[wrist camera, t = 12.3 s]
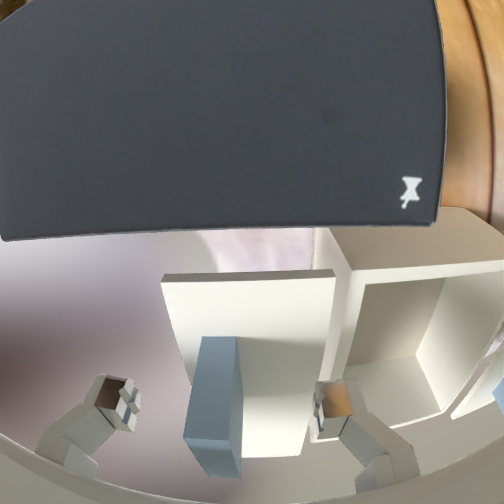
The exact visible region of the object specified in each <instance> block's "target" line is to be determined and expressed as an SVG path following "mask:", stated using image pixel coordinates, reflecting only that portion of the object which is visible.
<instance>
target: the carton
mask: <svg viewBox="0 0 504 504" xmlns="http://www.w3.org/2000/svg"><path fill="white" fill-rule="evenodd" d="M315 269H333V271H334V273H335V276H336V282H335V290H334V297H333V304H332V310H331V317H330V323H329V329H328V335H327V340H326V346H325V351H324V356H323V361H322V366H321V371H320V376H319V381H327V380H335V379H345V378H352V377H356V378H357V379H358V382H359V385H360V388H361V392H362V395H363V399H364V402H365V406H366V409H367V413H369V412H372V413H373V414H374V415H375V416H376V417H378V418H379V419H380V420H381V421H382V422H384V423H385V424H386V425H387V426H388V427H390V428H391V429H393V428H397V427H401V426H405V425H408V424H412V423H415V422H418V421H422V420H425V419H428V418H431V417H434V416H437V415H440V414H443V413H444V412H445V411H446V410H447V408H448V407H449V406H450V405H451V403H452V402H453V401H454V399H455V398H456V397H457V396H458V394H459V393H460V391H461V390H462V389H463V388H464V386H465V385H466V383H467V382H468V381H469V379H470V378H471V376H472V375H473V373H474V372H475V370H476V369H477V367H478V365H479V364H480V363H481V361H482V359H483V358H484V356H485V355H486V353H487V351H488V350H489V348H490V346H491V344H492V343H493V341H494V339H495V337H496V336H497V334H498V332H499V330H500V328H501V326H502V324H503V322H504V235H503V234H502V233H500V232H499V231H498V230H496V229H495V228H493V227H492V226H491V225H489V224H488V223H486V222H485V221H483V220H482V219H480V218H479V217H477V216H476V215H475V214H473V213H471V212H470V211H468V210H467V209H465V208H462V207H444V206H440V209H439V215H438V220H437V221H436V223H435V224H434V225H432V226H431V227H336V228H313V248H312V264H311V270H315ZM316 419H317V418H315V417H314V416H313V409H312V411H311V415H310V419H309V431H310V440H311V443H315V442H323V441H330V440H338V439H339V437H337V438H329V439H319V440H317V438H316V431H315V422H316Z"/></svg>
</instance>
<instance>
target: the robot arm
mask: <svg viewBox="0 0 504 504" xmlns="http://www.w3.org/2000/svg"><path fill="white" fill-rule="evenodd" d="M140 408H141V395H140V392H139V390H138V389H136V388H135V387H134V382H133V380H132V379H131V378H124V377H118V376H111V375H106V374H100V373H98V374H97V375H96V376H95V378H94V380H93V382H92V384H91V387H90V389H89V391H88V393H87V395H86V398H85V400H84V402H83V403H79V404H78V405H77V406H75V407H74V408H72V409H71V410H70V411H69V412H67V413H66V414H64V415H63V416H62V417H60V418H59V419H58V420H56V421H55V422H53V423H52V424H50V425H49V426H48V427H46V428H45V429H44V431H43V433H42V436H41V438H40V440H39V443H38V445H37V448H36V451H35V453H34V452H32V451H30V450H28V449H27V448H25V447H23V446H21V445H19V444H18V443H16V442H14V441H13V440H11V439H9V438H7V437H6V436H4V435H3V434H1V433H0V504H216V503H204V502H196V501H188V500H180V499H174V498H168V497H163V496H157V495H153V494H148V493H144V492H139V491H135V490H131V489H128V488H124V487H120V486H117V485H114V484H110V483H107V482H104V481H101V480H98V479H95V477H96V474H97V470H98V464H97V462H95V461H94V460H93V459H91V458H90V457H89V456H90V455H91V454H93V452H95V451H96V450H97V448H99V447H100V446H101V445H102V444H103V443H104V442H105V441H106V439H108V438H109V436H111V434H113V433H114V432H115V429H117V430H122V431H127V432H134V429H135V425H136V421H137V418H136V416H135V414H136V413H138V412H139V411H140ZM312 409H313V416H314V417H315V418H317V419H316V422H315V431H316V438H317V440H319V439H329V438H337V437H339V440H340V441H341V442H342V443H343V444H344V445H345V446H346V447H347V448H348V449H349V451H350V452H351V453H352V454H353V455H354V456H355V457H356V458H357V459H358V460H359V461H360V463H361V464H362V465H363V466H364V467H365V468H364V469H363V471H362V472H361V473H360V474H359V475H358V476H357V477H356V478H355V479H354V481H355V487H356V494H355V495H349V496H345V497H339V498H333V499H327V500H319V501H311V502H302V503H291V504H504V436H502V437H500V438H498V439H496V440H494V441H493V442H491V443H489V444H487V445H486V446H484V447H482V448H480V449H479V450H477V451H475V452H473V453H471V454H469V455H467V456H465V457H463V458H461V459H459V460H457V461H454V462H452V463H450V464H448V465H446V466H443V467H441V468H438V469H436V470H434V471H431V472H429V473H426V474H423V475H421V474H420V470H419V467H418V463H417V460H416V456H415V453H414V450H413V446H412V445H411V444H409V443H408V442H407V441H406V440H404V439H403V438H402V437H401V436H399V435H398V434H397V433H396V432H394V431H393V430H392V429H391V428H390V427H388V426H387V425H386V424H385V423H384V422H382V421H381V420H380V419H379V418H378V417H376V416H375V415H374V414H373V413H372V412H369V413H367V409H366V406H365V402H364V399H363V395H362V392H361V388H360V385H359V382H358V379H357V378H356V377H352V378H345V379H335V380H327V381H318V382H316V383H315V393H313V398H312Z"/></svg>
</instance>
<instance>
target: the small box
mask: <svg viewBox="0 0 504 504" xmlns="http://www.w3.org/2000/svg"><path fill="white" fill-rule="evenodd" d="M447 124H448V115H447V79H446V61H445V55H444V44H443V34H442V29H441V23H440V17H439V13H438V8H437V3H436V0H31V1H30V2H28V3H27V4H25V5H24V6H22V7H21V8H20V9H18V10H17V11H15V12H14V13H12V14H11V15H10V16H8V17H7V18H6V19H4V20H3V21H2V22H1V23H0V235H1V238H2V240H3V241H5V242H9V241H19V240H34V239H46V238H62V237H74V236H93V235H109V234H130V233H148V232H149V233H155V232H168V231H195V230H224V229H258V228H336V227H431V226H432V225H434V224H435V223H436V221H437V220H438V215H439V209H440V203H441V194H442V186H443V178H444V167H445V156H446V139H447Z"/></svg>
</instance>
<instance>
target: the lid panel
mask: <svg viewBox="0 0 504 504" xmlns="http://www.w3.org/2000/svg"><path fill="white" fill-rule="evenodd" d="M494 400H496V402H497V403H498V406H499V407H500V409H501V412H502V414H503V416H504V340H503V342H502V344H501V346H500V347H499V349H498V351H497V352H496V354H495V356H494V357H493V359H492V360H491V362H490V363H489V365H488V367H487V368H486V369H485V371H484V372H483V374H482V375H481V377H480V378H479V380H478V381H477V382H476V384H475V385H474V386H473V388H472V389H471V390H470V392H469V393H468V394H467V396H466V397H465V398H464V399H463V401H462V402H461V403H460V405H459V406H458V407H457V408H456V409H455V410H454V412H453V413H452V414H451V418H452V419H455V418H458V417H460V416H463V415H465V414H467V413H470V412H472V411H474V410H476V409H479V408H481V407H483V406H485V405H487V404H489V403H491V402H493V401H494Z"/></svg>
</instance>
